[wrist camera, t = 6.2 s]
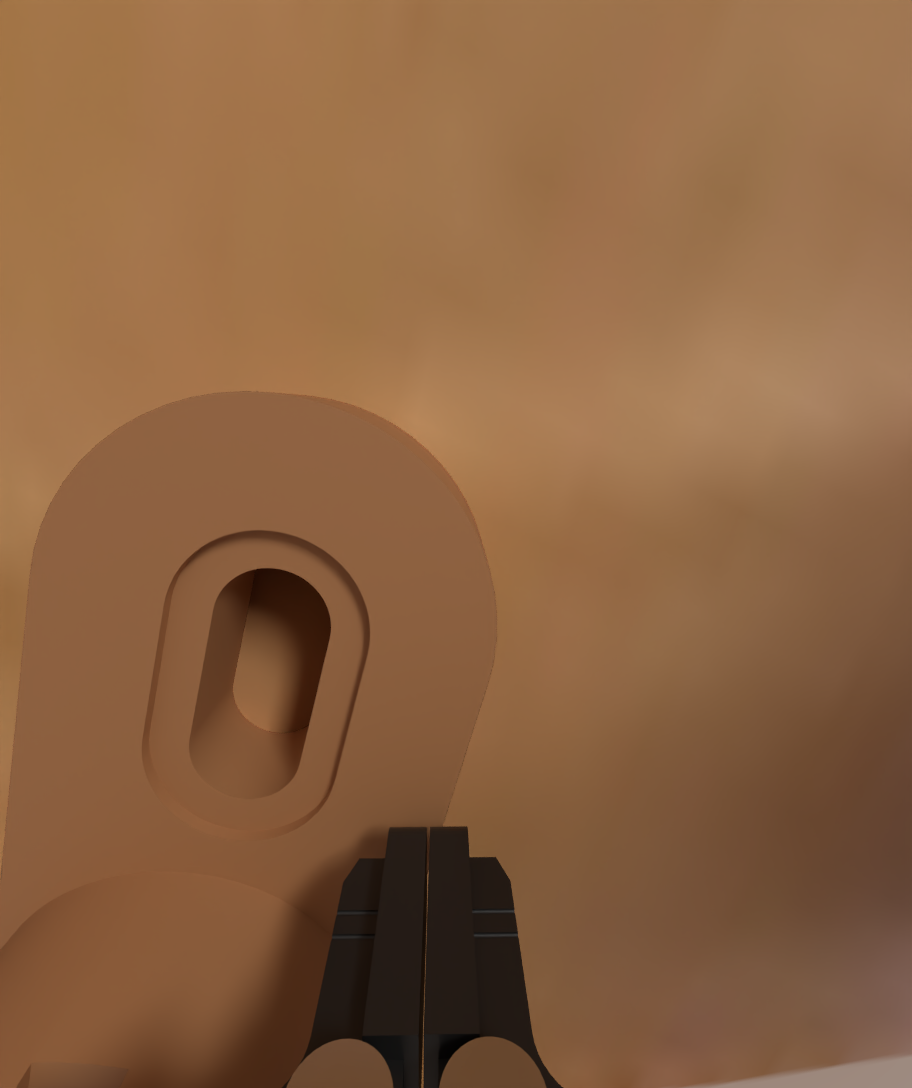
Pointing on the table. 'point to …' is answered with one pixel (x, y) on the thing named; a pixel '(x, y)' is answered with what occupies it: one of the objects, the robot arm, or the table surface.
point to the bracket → (222, 734)
